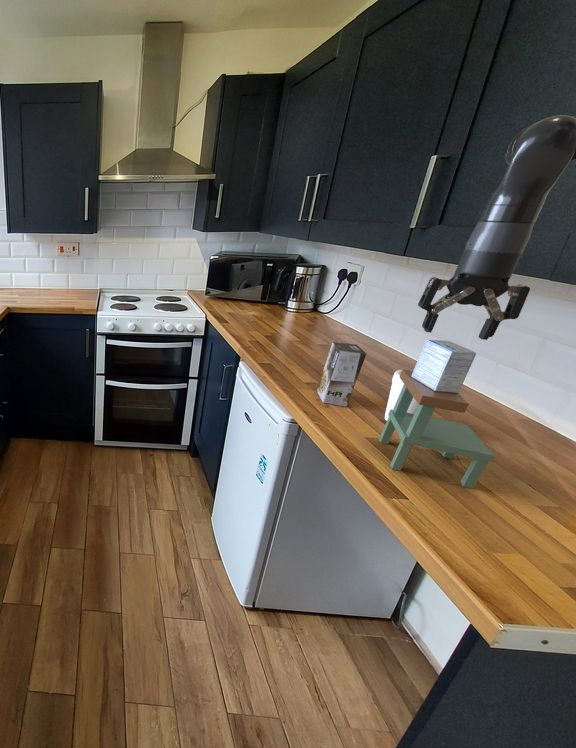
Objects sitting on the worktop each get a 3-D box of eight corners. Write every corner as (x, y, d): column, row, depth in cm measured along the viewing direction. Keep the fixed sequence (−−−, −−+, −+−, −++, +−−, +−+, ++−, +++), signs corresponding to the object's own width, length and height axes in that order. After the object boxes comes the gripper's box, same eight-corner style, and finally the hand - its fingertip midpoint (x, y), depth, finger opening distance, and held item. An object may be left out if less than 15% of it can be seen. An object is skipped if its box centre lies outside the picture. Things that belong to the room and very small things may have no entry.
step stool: (449, 453, 93) (485, 382, 86) (476, 492, 80) (522, 413, 72) (374, 436, 99) (402, 369, 91) (388, 471, 86) (422, 395, 78)
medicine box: (458, 394, 79) (478, 353, 76) (433, 391, 80) (452, 350, 76) (432, 378, 86) (450, 340, 83) (409, 376, 87) (426, 338, 84)
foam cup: (423, 434, 100) (445, 387, 95) (378, 423, 105) (397, 378, 100) (418, 419, 108) (438, 375, 102) (376, 410, 112) (394, 367, 107)
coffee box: (347, 407, 113) (367, 353, 107) (322, 403, 115) (340, 350, 108) (339, 394, 121) (357, 344, 114) (315, 390, 123) (332, 340, 116)
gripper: (450, 247, 72) (414, 333, 79) (559, 254, 66) (511, 346, 73) (437, 244, 78) (405, 325, 85) (536, 250, 73) (493, 336, 79)
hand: (454, 335), depth 79 cm, fingers open, 8 cm apart
